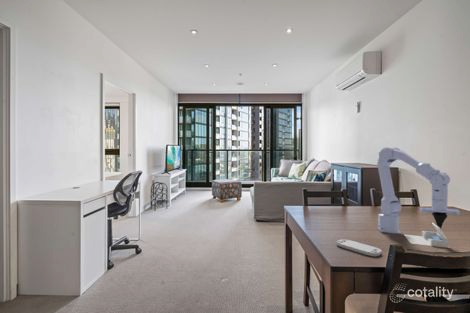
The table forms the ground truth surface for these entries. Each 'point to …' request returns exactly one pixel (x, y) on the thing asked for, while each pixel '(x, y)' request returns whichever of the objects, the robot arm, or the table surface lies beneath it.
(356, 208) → the table surface
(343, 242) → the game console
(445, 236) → the cover
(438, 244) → the white storage tray
